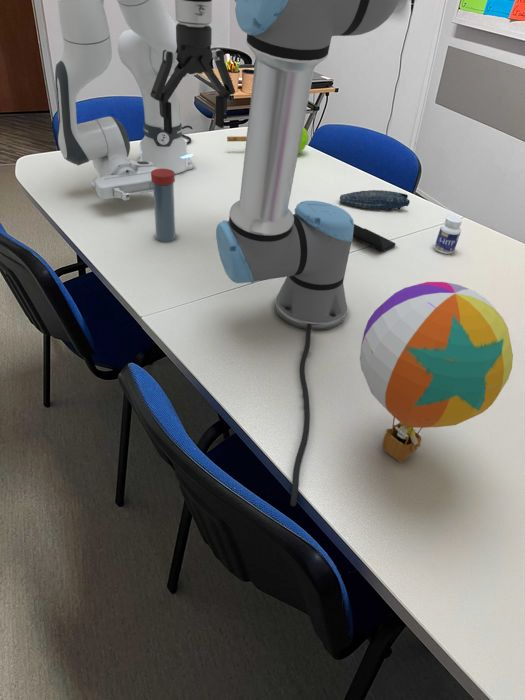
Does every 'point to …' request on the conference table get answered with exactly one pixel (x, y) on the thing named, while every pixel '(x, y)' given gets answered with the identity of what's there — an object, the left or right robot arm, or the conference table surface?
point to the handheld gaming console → (372, 239)
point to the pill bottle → (448, 235)
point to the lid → (162, 176)
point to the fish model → (376, 199)
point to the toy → (434, 359)
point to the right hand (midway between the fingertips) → (194, 129)
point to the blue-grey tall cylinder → (164, 212)
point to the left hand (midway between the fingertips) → (143, 194)
